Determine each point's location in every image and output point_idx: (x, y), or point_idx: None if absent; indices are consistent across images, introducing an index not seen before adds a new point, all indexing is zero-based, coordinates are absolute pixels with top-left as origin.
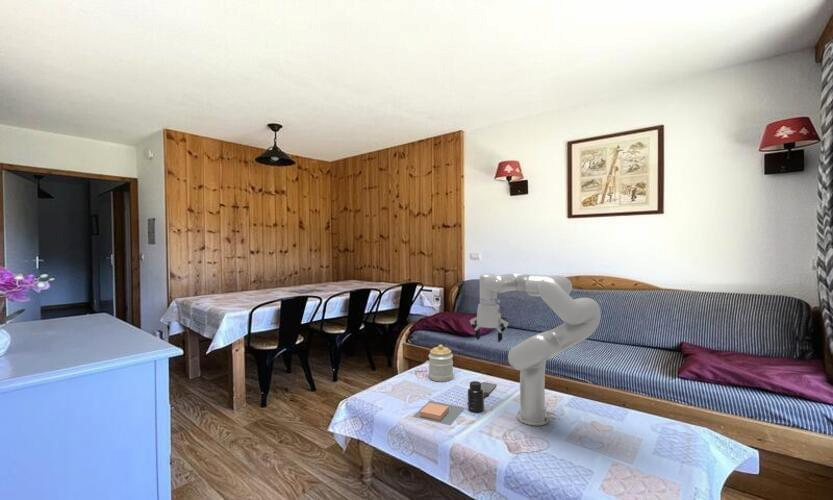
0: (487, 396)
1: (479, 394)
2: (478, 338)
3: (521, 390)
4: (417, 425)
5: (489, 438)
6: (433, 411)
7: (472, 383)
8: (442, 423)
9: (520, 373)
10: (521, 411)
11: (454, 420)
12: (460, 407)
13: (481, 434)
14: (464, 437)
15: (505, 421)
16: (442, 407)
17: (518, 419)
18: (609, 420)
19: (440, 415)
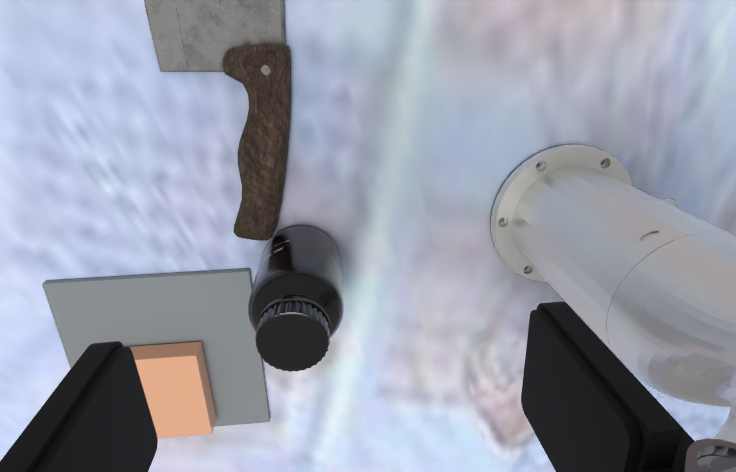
0: (290, 75)
1: (332, 335)
2: (149, 442)
3: (584, 321)
4: (155, 460)
5: (426, 416)
6: (164, 418)
7: (278, 354)
8: (234, 424)
9: (638, 363)
10: (529, 262)
11: (264, 388)
12: (225, 279)
13: (393, 408)
14: (347, 446)
15: (452, 288)
16: (175, 374)
17: (504, 261)
18: None
19: (211, 430)
